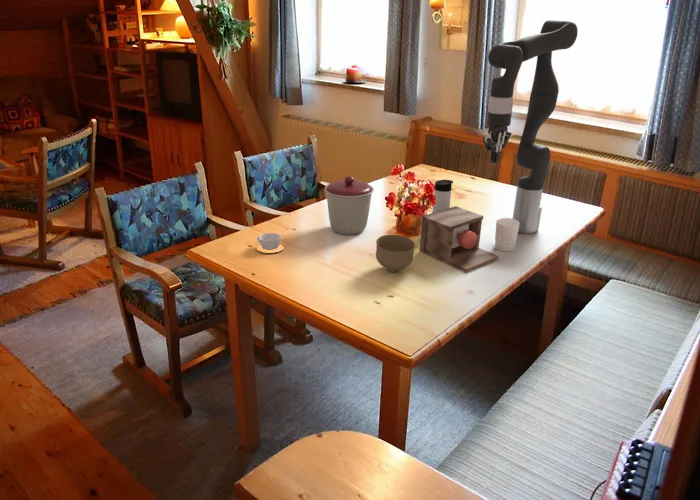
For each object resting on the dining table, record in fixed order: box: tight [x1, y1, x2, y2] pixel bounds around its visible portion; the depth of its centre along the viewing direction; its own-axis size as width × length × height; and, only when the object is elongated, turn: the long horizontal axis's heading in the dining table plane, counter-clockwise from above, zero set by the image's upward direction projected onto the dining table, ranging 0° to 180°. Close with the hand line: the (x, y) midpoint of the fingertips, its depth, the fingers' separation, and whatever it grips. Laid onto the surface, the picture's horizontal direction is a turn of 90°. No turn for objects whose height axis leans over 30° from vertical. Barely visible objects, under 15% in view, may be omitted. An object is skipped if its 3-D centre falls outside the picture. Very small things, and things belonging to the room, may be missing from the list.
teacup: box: [256, 232, 282, 250], centre depth 202 cm, size 10×10×5 cm
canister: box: [324, 175, 375, 235], centre depth 216 cm, size 18×18×21 cm
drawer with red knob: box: [452, 224, 477, 249], centre depth 199 cm, size 12×10×8 cm
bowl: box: [375, 234, 416, 273], centre depth 187 cm, size 13×13×10 cm
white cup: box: [494, 217, 520, 252], centre depth 205 cm, size 8×8×10 cm
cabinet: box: [419, 206, 500, 273], centre depth 198 cm, size 21×17×13 cm
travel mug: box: [431, 179, 454, 213], centre depth 217 cm, size 6×7×20 cm
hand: (494, 162), depth 195 cm, fingers closed
